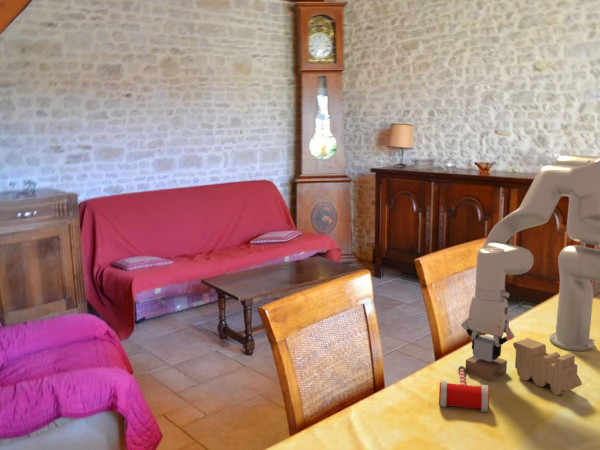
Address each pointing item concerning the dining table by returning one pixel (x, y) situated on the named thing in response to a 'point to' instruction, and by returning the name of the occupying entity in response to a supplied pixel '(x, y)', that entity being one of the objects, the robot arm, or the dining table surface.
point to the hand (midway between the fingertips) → (485, 354)
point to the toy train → (546, 366)
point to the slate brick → (484, 347)
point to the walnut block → (486, 368)
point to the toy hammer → (464, 394)
